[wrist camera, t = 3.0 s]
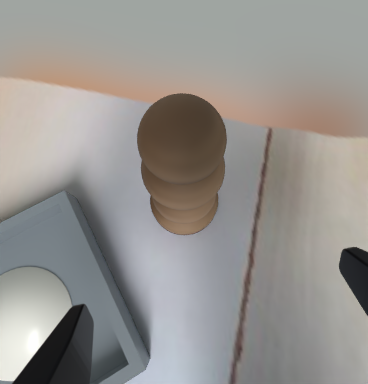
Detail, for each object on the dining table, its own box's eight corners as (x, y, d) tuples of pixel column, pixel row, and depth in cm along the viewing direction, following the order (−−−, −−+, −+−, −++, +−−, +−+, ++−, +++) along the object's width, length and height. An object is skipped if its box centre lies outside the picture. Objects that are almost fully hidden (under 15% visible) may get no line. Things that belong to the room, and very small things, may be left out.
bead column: (229, 214, 22) (285, 139, 9) (171, 247, 21) (149, 214, 9) (195, 162, 24) (206, 36, 11) (141, 191, 23) (83, 92, 10)
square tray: (150, 357, 19) (145, 369, 17) (-38, 477, 17) (-73, 509, 15) (76, 198, 23) (64, 190, 20) (-86, 282, 21) (-120, 283, 18)
